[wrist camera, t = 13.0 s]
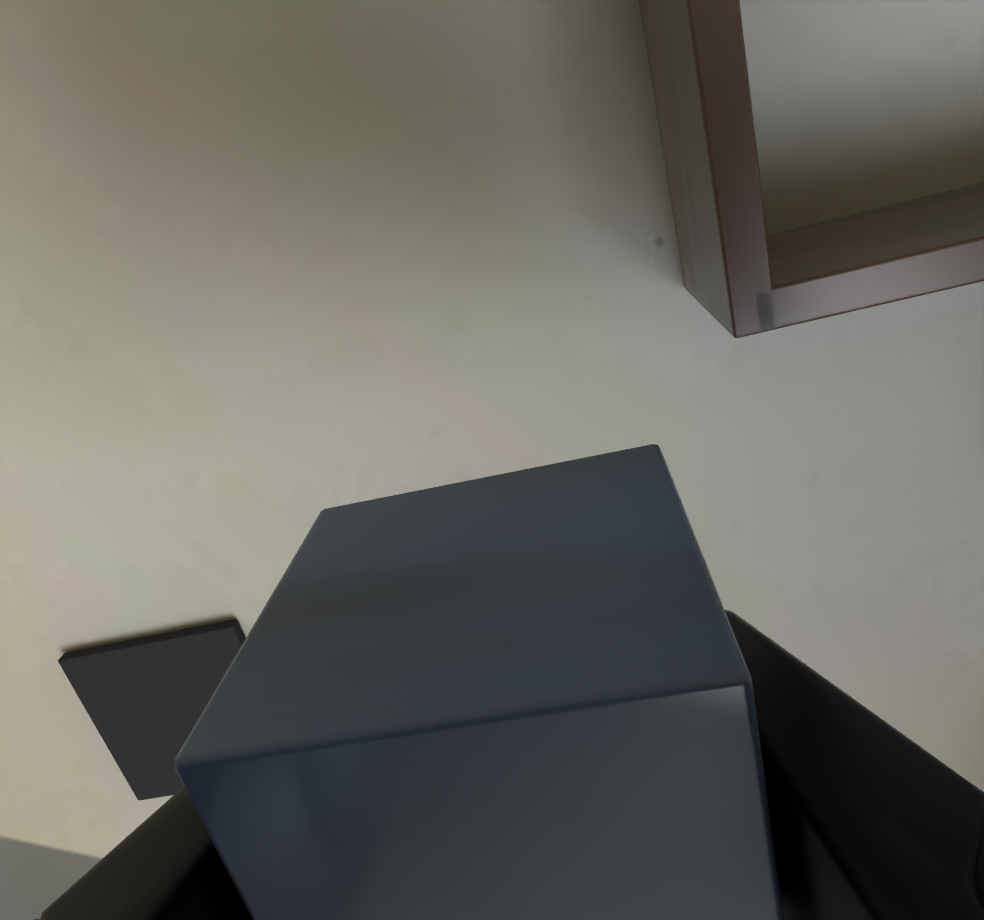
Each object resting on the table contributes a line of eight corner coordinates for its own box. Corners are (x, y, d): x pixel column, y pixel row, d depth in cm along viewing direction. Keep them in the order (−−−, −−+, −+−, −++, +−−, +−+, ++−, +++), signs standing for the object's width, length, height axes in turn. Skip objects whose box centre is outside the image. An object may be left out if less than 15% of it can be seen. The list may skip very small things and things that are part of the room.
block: (705, 719, 10) (806, 1067, 6) (413, 762, 10) (343, 1102, 7) (658, 440, 8) (751, 676, 5) (319, 508, 9) (167, 764, 5)
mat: (304, 765, 25) (300, 774, 25) (143, 792, 26) (137, 801, 26) (237, 619, 23) (232, 626, 23) (64, 652, 24) (56, 660, 24)
